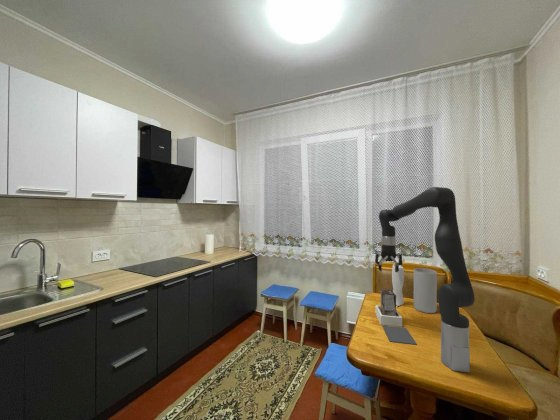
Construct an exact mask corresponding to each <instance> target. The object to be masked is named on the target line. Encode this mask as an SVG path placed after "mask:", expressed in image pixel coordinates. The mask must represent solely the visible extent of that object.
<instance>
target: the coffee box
mask: <svg viewBox="0 0 560 420" xmlns="http://www.w3.org/2000/svg"><path fill="white" fill-rule="evenodd" d="M380 306H381V314H382V315H386V316H396V310H397V307H396V295H395V294H394V293H393V290H390V289H380Z"/></svg>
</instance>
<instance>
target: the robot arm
mask: <svg viewBox="0 0 560 420" xmlns="http://www.w3.org/2000/svg"><path fill="white" fill-rule="evenodd" d="M456 203H457V202H456V196H455V193H454V191H453V190H452V189H451V188H448V187H441V186H440V187H439V186H434V187H430V188H427V189H426V190H424V191H422V192H421V193H420V194H418V195H416V196H415V197H412V198H411V199H409V200H407V201H405V202H402V203H400V204H397V205H395V206H394V207H393V208H392V209H382V210H380V212H379V213H378V219H379V223H380V226H381V241H380V243H381V244H380V245H381V247H380V248H381V252H380V253H378V252H376V253H375V257H374V263H375V264H376V265H378V267H377V268H378V269H377V270H378V271H379V272H383V271H382V269H383V268H382V267H383V266H382V264H383V263H385V262H391V263H392V262H393V264H394V266H395V272H398V271H399V265H401V266H403V255H402V254H400V253H398V254H397V251H396V250H397V248H396V246H397V244H396V243H397V240H396V239H397V238H396V227H395V226H394V225H391V224H390V222H397V221H399V220H401V219H403V218H405V217H408V216H410V215H413V214H414V213H415V212H416V211H417V210H420V209H425V208H430V207H431V208H437V209H438V210H437V211H438V215H439V216H438V217H439V222H438V225H437V227H436V230H435V233H434V244H435V250H436V252H437V255H438V257H439V258H440V259H441V260H442V262H443V263H444V264H445V265H446V267H447V268H448V270H449V272H450V276H451V280H452V283H443V284H441V285H440V286H439V288H438V290H437V291H438V292H437V298H438V299H437V300H438V311H439V312H438V313H439V314H440V361H441V363H442V364H443V365H444V366H446V367H447V368H448V369H451V371H453V372H454V371H455V372H461V373H462V372H463V373H470V372H471V371H470V368H471V367H470V364H471V363H470V362H471V356H470V355H471V353H470V352H471V349H470V320H469V318H468V317H467V316H466V315H464V314H462V313H460V308H466V307H467V308H468V307H471V306H473V305H474V302H475V292H474V289H473V285H472V283H471V280H470V277H469V273H468V270H467V266H466V261H465V256H464V250H463V244H462V239H461V238H462V237H461V235H460V230H459V225H458V224H459V223H458V218H457V207H456V206H457V204H456ZM380 257H381V258H380ZM379 258H380V259H379ZM396 258H398V262H399V263H397V260H396Z"/></svg>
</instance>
